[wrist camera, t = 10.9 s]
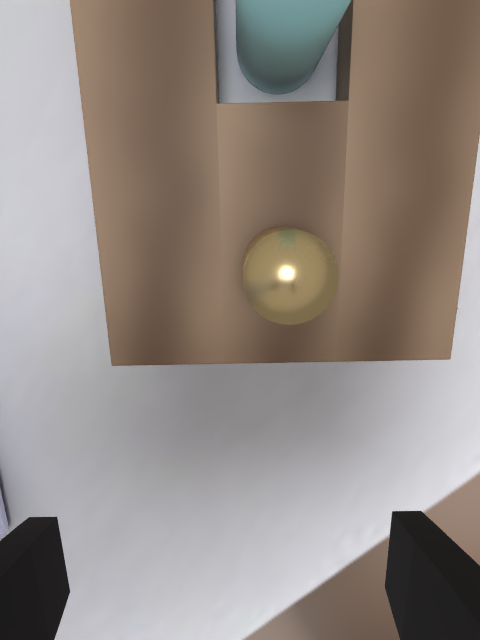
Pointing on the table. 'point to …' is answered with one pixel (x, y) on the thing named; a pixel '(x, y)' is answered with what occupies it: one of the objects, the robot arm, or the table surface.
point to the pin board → (280, 187)
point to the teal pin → (284, 39)
